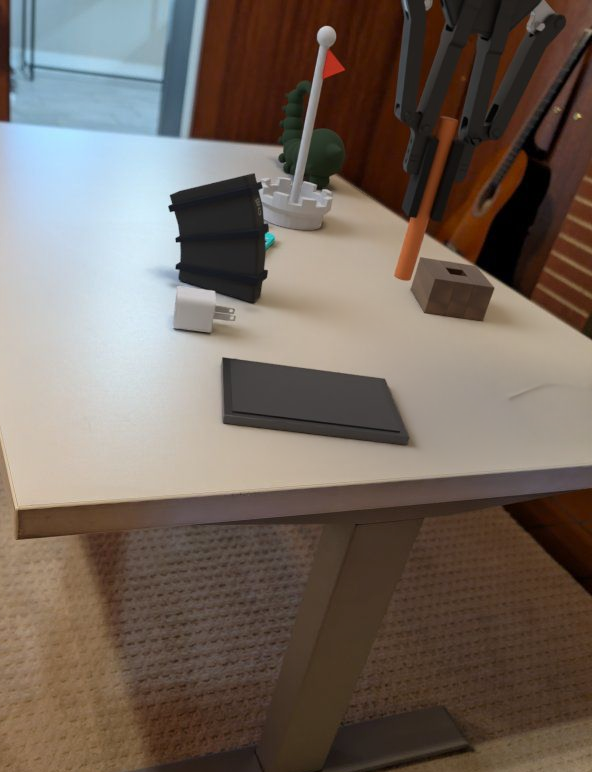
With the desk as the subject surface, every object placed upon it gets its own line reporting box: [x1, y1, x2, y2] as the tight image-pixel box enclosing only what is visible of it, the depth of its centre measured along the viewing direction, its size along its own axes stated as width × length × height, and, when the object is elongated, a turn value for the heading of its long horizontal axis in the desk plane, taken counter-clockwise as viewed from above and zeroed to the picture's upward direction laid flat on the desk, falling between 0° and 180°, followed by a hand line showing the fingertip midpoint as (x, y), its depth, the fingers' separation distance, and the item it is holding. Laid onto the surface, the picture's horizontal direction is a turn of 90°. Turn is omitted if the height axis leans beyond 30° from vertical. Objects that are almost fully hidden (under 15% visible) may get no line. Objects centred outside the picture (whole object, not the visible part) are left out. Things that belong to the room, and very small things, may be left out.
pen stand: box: [410, 256, 495, 322], centre depth 107 cm, size 9×9×5 cm
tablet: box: [220, 356, 410, 446], centre depth 76 cm, size 18×12×1 cm, turn 93°
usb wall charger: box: [172, 285, 237, 334], centre depth 87 cm, size 4×7×4 cm, turn 94°
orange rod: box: [393, 115, 459, 282], centre depth 66 cm, size 2×2×14 cm
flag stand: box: [259, 25, 346, 231], centre depth 124 cm, size 13×13×30 cm
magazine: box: [167, 172, 270, 303], centre depth 96 cm, size 4×13×15 cm, turn 69°
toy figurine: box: [277, 80, 346, 189], centre depth 154 cm, size 9×19×25 cm
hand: (421, 214), depth 67 cm, fingers closed on orange rod, 1 cm apart
